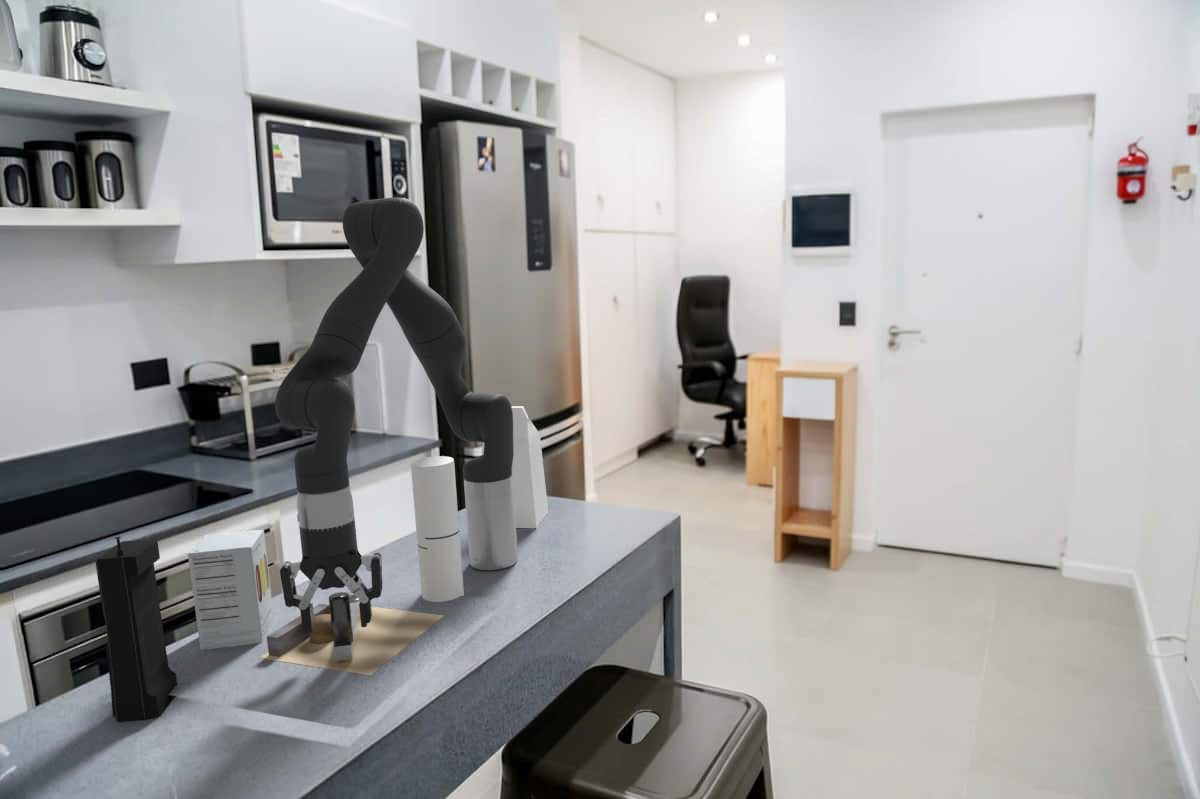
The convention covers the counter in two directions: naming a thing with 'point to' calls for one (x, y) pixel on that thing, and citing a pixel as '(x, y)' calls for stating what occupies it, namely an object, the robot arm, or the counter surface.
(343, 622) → the lever
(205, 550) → the supplement box
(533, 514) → the milk
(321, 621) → the nut
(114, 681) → the portable radio
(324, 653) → the nutcracker board
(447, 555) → the cylindrical container
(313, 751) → the counter surface
